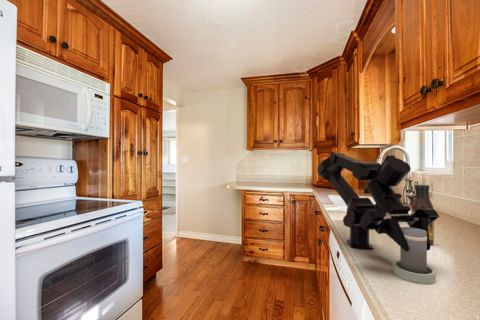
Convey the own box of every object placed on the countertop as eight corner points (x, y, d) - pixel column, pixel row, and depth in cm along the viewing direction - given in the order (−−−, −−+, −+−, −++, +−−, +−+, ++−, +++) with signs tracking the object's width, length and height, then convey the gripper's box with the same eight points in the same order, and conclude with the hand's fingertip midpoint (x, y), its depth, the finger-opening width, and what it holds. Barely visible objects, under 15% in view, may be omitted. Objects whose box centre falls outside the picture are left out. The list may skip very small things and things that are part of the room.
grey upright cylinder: (396, 269, 61) (396, 226, 62) (419, 271, 60) (419, 227, 60) (406, 279, 56) (405, 232, 56) (432, 281, 55) (431, 233, 55)
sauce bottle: (435, 247, 78) (434, 186, 78) (411, 243, 82) (411, 184, 82) (433, 241, 83) (433, 184, 84) (411, 238, 87) (411, 183, 87)
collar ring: (388, 266, 63) (388, 259, 63) (423, 269, 61) (423, 261, 61) (401, 281, 55) (401, 272, 55) (443, 285, 53) (443, 276, 53)
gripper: (399, 212, 75) (431, 262, 64) (342, 213, 72) (366, 265, 61) (421, 190, 67) (462, 242, 56) (358, 190, 65) (389, 245, 54)
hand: (418, 250), depth 57 cm, fingers closed on grey upright cylinder, 5 cm apart
